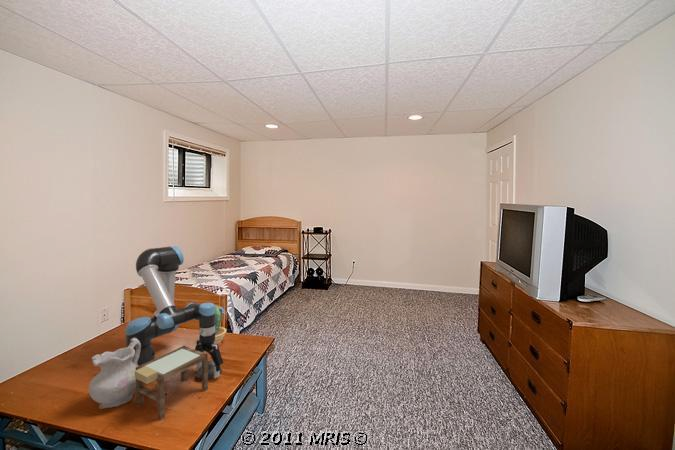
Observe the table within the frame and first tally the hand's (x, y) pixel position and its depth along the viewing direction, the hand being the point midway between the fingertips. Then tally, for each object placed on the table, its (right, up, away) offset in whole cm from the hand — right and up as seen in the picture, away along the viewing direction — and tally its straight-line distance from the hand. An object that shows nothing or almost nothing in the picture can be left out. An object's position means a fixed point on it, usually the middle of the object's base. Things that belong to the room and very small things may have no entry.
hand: (207, 373), depth 148 cm
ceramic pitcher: (-32, -2, -18) cm, 37 cm away
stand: (-8, -2, -17) cm, 19 cm away
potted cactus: (-12, +1, +34) cm, 36 cm away
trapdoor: (-9, +13, -20) cm, 26 cm away
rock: (0, -2, +1) cm, 2 cm away
